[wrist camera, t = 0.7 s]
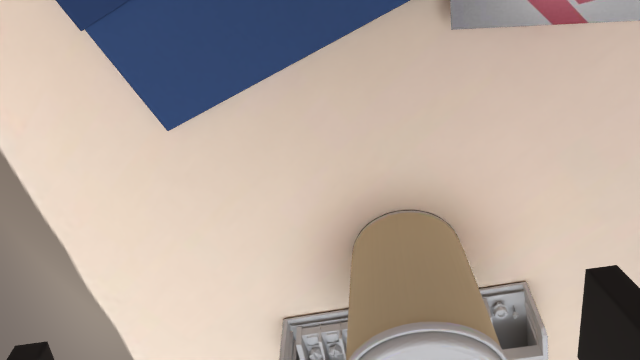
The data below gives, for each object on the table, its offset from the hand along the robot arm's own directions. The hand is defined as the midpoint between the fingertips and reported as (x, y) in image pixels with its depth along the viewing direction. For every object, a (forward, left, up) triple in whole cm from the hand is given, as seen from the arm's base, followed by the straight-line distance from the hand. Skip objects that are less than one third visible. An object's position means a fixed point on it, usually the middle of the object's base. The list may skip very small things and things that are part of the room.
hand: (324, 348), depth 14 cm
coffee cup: (+3, +17, -22) cm, 28 cm away
